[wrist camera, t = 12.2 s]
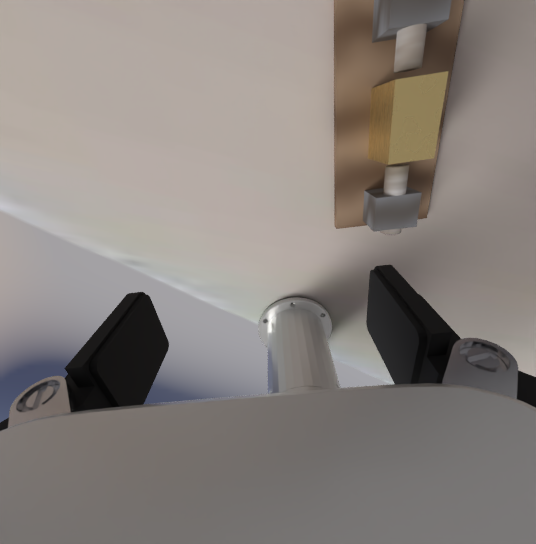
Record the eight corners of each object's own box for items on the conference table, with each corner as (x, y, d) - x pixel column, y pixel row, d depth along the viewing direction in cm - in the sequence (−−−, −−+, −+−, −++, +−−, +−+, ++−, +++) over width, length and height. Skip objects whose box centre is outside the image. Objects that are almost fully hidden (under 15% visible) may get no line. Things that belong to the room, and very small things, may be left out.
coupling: (371, 88, 28) (395, 78, 23) (414, 81, 28) (448, 70, 22) (367, 159, 31) (388, 165, 26) (405, 153, 31) (434, 158, 26)
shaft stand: (421, 215, 36) (445, 228, 31) (334, 225, 37) (344, 240, 32) (462, -33, 25) (508, -71, 20) (334, -11, 25) (349, -43, 20)
